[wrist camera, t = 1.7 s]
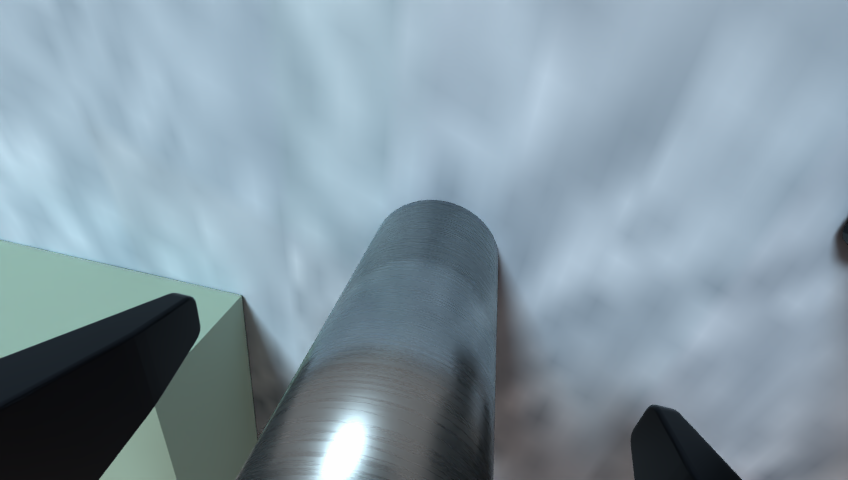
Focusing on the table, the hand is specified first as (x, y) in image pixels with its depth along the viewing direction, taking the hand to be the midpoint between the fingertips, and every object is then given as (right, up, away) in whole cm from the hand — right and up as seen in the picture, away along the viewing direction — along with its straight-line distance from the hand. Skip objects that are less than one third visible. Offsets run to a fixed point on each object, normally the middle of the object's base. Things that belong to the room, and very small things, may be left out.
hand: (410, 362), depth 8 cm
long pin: (+1, +2, +3) cm, 4 cm away
